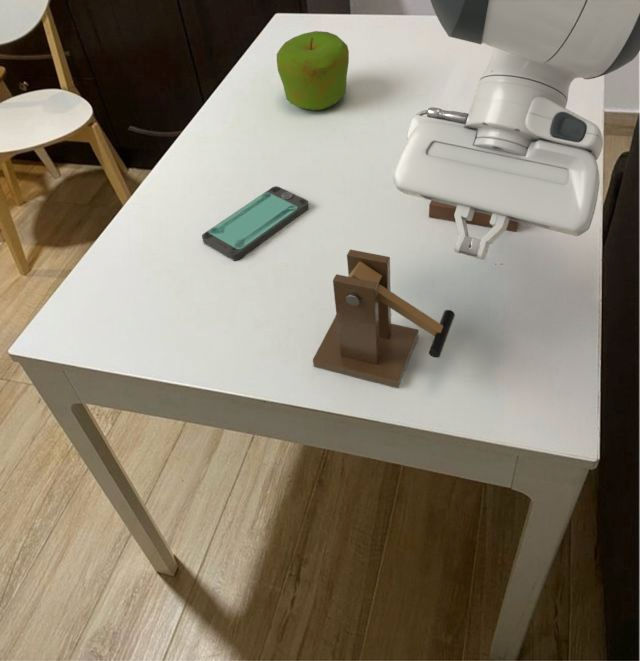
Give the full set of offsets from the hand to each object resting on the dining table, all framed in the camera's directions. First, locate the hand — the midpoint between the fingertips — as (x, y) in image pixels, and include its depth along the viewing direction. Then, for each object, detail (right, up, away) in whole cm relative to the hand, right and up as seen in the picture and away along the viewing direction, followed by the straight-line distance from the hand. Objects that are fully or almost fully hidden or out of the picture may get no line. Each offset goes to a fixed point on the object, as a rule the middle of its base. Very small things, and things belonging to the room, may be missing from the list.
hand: (469, 255), depth 67 cm
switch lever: (-8, -6, +2) cm, 10 cm away
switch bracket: (-10, -10, +9) cm, 16 cm away
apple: (-16, +33, +50) cm, 62 cm away
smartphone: (-24, +7, +27) cm, 37 cm away
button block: (+7, +10, +25) cm, 28 cm away
